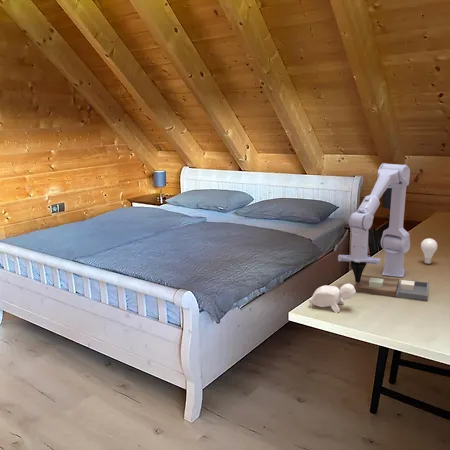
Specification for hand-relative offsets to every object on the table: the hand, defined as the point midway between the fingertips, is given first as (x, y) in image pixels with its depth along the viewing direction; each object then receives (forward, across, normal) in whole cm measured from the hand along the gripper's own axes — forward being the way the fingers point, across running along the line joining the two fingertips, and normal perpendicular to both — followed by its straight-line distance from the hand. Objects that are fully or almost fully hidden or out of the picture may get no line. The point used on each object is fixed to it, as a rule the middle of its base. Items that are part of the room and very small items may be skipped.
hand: (357, 281), depth 174 cm
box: (+3, +19, +3) cm, 19 cm away
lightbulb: (+3, +22, +40) cm, 46 cm away
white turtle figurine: (+3, -5, -20) cm, 21 cm away
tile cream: (+2, +17, +6) cm, 18 cm away
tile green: (+1, +6, 0) cm, 6 cm away
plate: (+3, +6, +3) cm, 8 cm away
